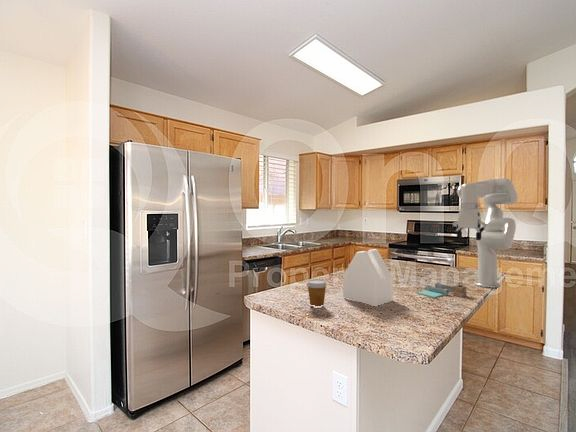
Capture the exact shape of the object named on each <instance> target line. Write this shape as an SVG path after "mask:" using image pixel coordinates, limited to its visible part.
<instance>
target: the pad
mask: <svg viewBox="0 0 576 432" xmlns="http://www.w3.org/2000/svg"><path fill="white" fill-rule="evenodd" d="M416 294H418V295H422V296H425V297H429V298H433V299H436V298H439V297H443V296H444V295H443V294H440V293H436V292H432V291H427V290H425V289H424V290H422V291H418V292H416Z"/></svg>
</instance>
